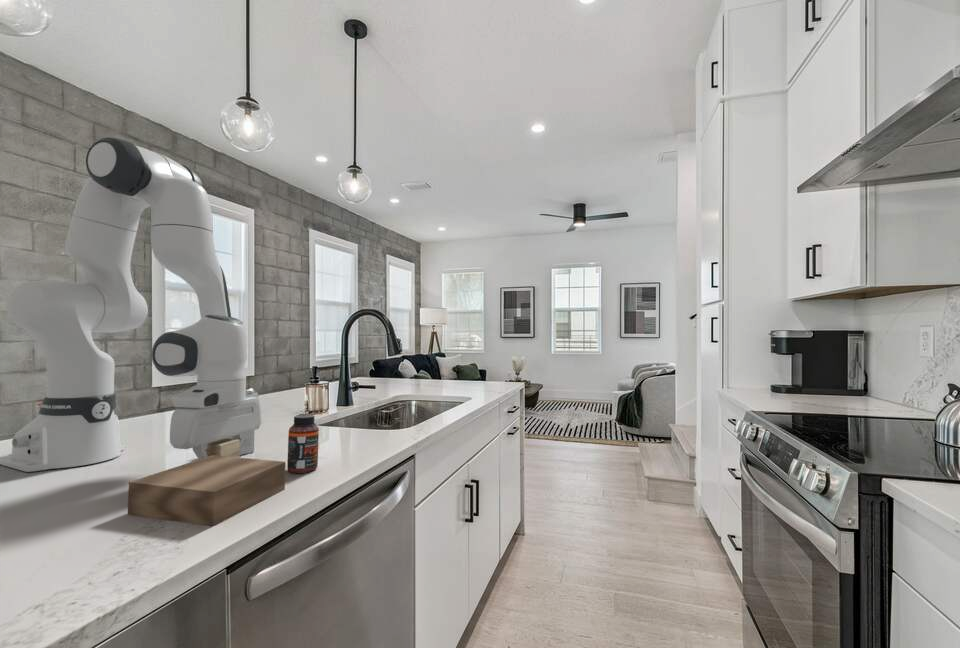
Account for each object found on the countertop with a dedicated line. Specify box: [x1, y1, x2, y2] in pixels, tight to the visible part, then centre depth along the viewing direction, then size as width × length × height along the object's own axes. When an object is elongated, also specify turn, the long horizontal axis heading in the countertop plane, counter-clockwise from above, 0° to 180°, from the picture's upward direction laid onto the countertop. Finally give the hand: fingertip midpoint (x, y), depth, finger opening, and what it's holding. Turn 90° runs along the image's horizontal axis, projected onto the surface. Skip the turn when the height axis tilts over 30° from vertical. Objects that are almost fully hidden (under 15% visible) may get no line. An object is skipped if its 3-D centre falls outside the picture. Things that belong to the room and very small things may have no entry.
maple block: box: [205, 439, 240, 458], centre depth 91 cm, size 5×5×6 cm
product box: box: [225, 430, 256, 456], centre depth 104 cm, size 6×6×7 cm
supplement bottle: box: [286, 413, 320, 474], centre depth 92 cm, size 6×6×11 cm
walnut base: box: [127, 455, 286, 527], centre depth 74 cm, size 16×16×5 cm
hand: (219, 460), depth 91 cm, fingers open, 6 cm apart
